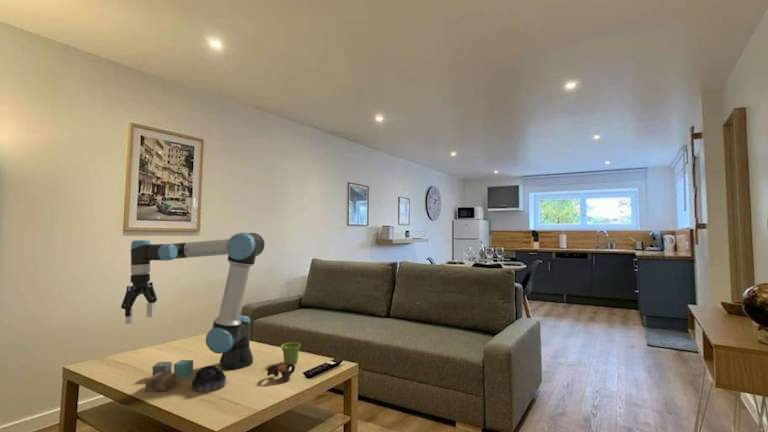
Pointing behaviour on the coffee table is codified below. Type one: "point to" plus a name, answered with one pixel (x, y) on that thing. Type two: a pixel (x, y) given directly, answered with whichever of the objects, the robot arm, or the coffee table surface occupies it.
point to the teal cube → (183, 368)
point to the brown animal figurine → (283, 369)
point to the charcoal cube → (162, 367)
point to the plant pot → (290, 352)
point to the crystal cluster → (209, 379)
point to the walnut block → (161, 382)
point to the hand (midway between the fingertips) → (139, 320)
